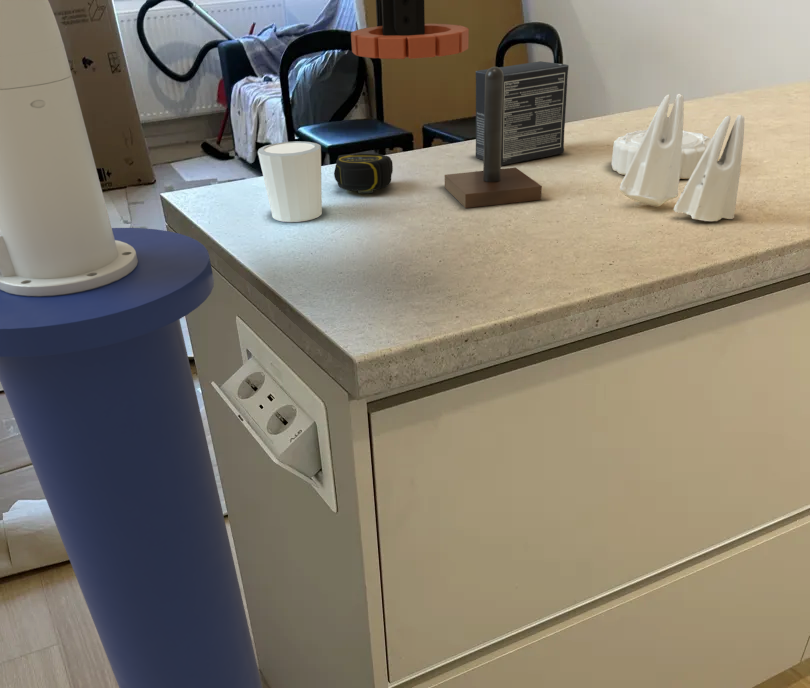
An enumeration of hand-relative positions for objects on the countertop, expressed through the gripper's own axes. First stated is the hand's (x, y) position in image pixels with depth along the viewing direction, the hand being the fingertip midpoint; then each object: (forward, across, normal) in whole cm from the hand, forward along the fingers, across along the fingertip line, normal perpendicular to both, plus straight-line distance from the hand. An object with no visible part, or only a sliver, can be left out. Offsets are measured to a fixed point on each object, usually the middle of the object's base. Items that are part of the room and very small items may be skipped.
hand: (400, 42), depth 63 cm
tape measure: (+19, -31, +1) cm, 36 cm away
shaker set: (+18, -9, +31) cm, 37 cm away
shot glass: (+19, -22, -8) cm, 30 cm away
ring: (0, +4, 0) cm, 4 cm away
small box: (+19, -39, +24) cm, 49 cm away
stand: (+18, -23, +15) cm, 33 cm away
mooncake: (+18, -26, +38) cm, 50 cm away
